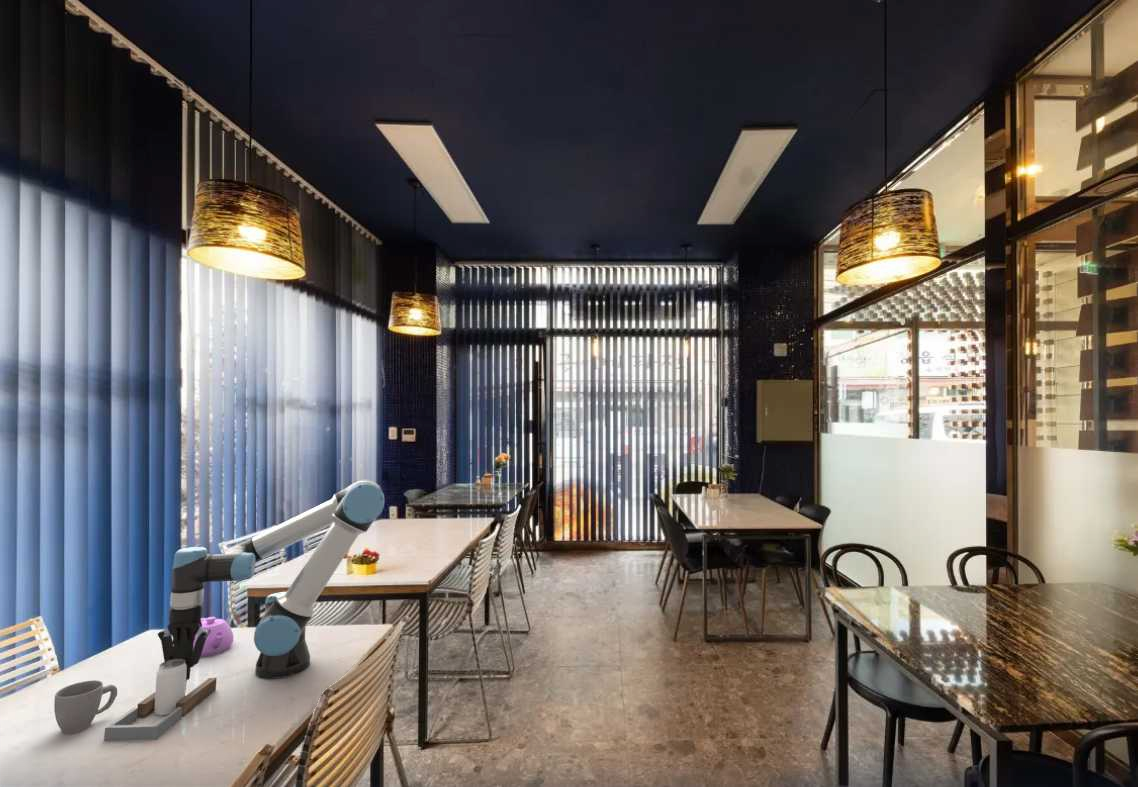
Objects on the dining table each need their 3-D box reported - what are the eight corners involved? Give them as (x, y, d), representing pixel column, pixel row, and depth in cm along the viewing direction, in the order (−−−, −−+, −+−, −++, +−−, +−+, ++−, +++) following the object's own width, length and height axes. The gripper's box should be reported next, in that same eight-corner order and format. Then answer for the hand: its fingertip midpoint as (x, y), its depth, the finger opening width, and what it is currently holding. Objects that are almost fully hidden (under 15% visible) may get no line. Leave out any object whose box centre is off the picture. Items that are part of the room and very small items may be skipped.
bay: (181, 719, 135) (182, 707, 135) (156, 739, 126) (157, 726, 126) (132, 720, 134) (133, 708, 134) (103, 740, 125) (104, 727, 125)
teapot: (194, 666, 165) (196, 631, 166) (176, 648, 178) (178, 616, 178) (243, 652, 175) (245, 619, 176) (223, 636, 188) (224, 606, 189)
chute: (215, 690, 150) (216, 677, 150) (183, 717, 136) (184, 703, 136) (173, 691, 149) (174, 678, 149) (136, 718, 135) (137, 703, 135)
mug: (57, 743, 124) (60, 701, 125) (47, 731, 129) (50, 690, 129) (121, 720, 134) (124, 681, 135) (109, 709, 139) (112, 672, 139)
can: (168, 717, 135) (171, 669, 136) (147, 715, 136) (150, 667, 137) (190, 704, 142) (193, 659, 143) (170, 702, 143) (173, 657, 144)
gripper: (219, 600, 149) (212, 686, 148) (171, 600, 149) (165, 685, 147) (201, 610, 142) (195, 699, 140) (152, 609, 141) (144, 699, 140)
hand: (179, 692), depth 144 cm, fingers closed
